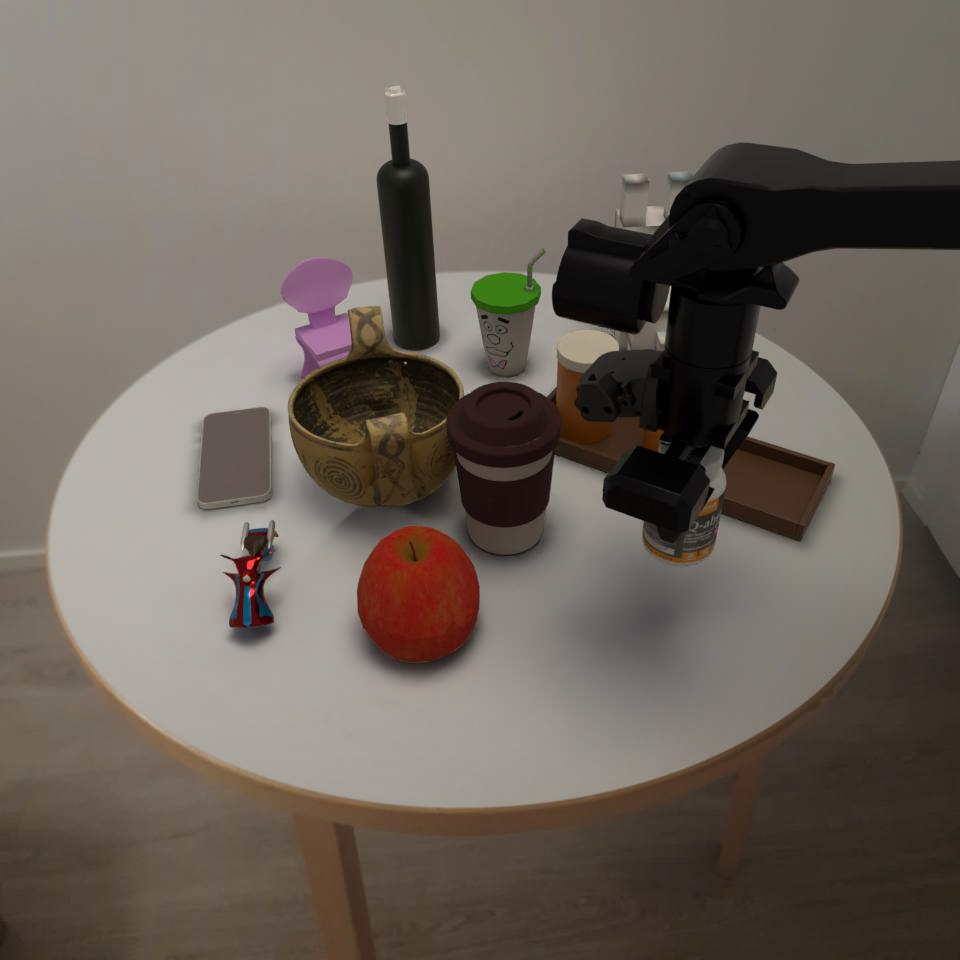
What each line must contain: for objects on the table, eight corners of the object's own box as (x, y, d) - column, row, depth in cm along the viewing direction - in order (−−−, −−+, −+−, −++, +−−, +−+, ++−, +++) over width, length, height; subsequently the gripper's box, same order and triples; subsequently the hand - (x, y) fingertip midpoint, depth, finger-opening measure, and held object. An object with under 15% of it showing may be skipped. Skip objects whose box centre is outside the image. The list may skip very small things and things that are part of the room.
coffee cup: (443, 506, 90) (434, 380, 80) (540, 487, 91) (542, 362, 82) (467, 577, 82) (460, 448, 73) (571, 555, 84) (578, 427, 74)
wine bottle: (447, 330, 114) (431, 81, 95) (428, 354, 110) (407, 99, 91) (406, 322, 116) (382, 76, 96) (385, 345, 112) (356, 94, 93)
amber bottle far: (622, 420, 99) (629, 339, 92) (596, 451, 95) (602, 369, 88) (571, 403, 101) (574, 323, 94) (544, 433, 97) (545, 352, 91)
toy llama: (632, 402, 102) (648, 236, 89) (607, 321, 115) (618, 165, 102) (699, 399, 102) (724, 232, 89) (666, 317, 115) (685, 162, 102)
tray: (831, 479, 91) (835, 463, 90) (800, 541, 85) (804, 525, 83) (563, 392, 104) (564, 378, 102) (518, 441, 97) (518, 426, 96)
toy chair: (321, 416, 101) (299, 297, 92) (291, 379, 107) (268, 263, 97) (387, 393, 105) (373, 275, 95) (355, 357, 110) (339, 243, 100)
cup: (461, 374, 107) (455, 258, 97) (493, 342, 112) (491, 228, 102) (520, 392, 104) (520, 273, 94) (551, 358, 109) (553, 242, 99)
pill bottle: (693, 581, 70) (710, 483, 63) (627, 550, 72) (637, 454, 66) (726, 538, 73) (745, 441, 67) (662, 510, 76) (674, 414, 69)
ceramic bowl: (490, 544, 85) (486, 416, 76) (309, 573, 83) (280, 446, 74) (451, 407, 102) (443, 287, 92) (298, 428, 100) (274, 308, 90)
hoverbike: (222, 647, 77) (207, 603, 73) (239, 547, 86) (226, 504, 83) (283, 642, 77) (271, 598, 74) (293, 543, 86) (283, 499, 83)
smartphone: (195, 505, 90) (202, 414, 101) (197, 511, 90) (204, 420, 101) (271, 494, 90) (270, 405, 102) (273, 501, 91) (271, 412, 102)
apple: (451, 569, 83) (444, 483, 76) (503, 648, 76) (501, 561, 69) (345, 609, 80) (329, 523, 73) (390, 696, 73) (376, 609, 66)
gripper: (651, 260, 70) (635, 422, 80) (534, 383, 58) (533, 555, 68) (796, 294, 65) (759, 461, 75) (701, 435, 53) (673, 611, 64)
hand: (682, 516), depth 71 cm, fingers closed on pill bottle, 5 cm apart
